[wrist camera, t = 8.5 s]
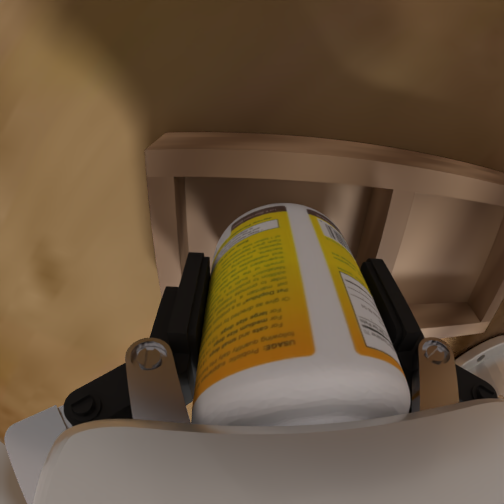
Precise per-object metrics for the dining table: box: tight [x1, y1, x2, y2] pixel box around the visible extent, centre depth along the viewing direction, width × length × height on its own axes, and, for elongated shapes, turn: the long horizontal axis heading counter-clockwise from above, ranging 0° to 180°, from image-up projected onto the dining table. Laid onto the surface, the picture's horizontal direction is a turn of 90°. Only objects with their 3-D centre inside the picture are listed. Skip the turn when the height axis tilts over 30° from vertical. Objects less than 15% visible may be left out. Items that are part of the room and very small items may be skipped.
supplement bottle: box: [191, 203, 411, 426], centre depth 9 cm, size 6×6×10 cm
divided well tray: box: [145, 132, 504, 339], centre depth 14 cm, size 19×10×3 cm, turn 87°
